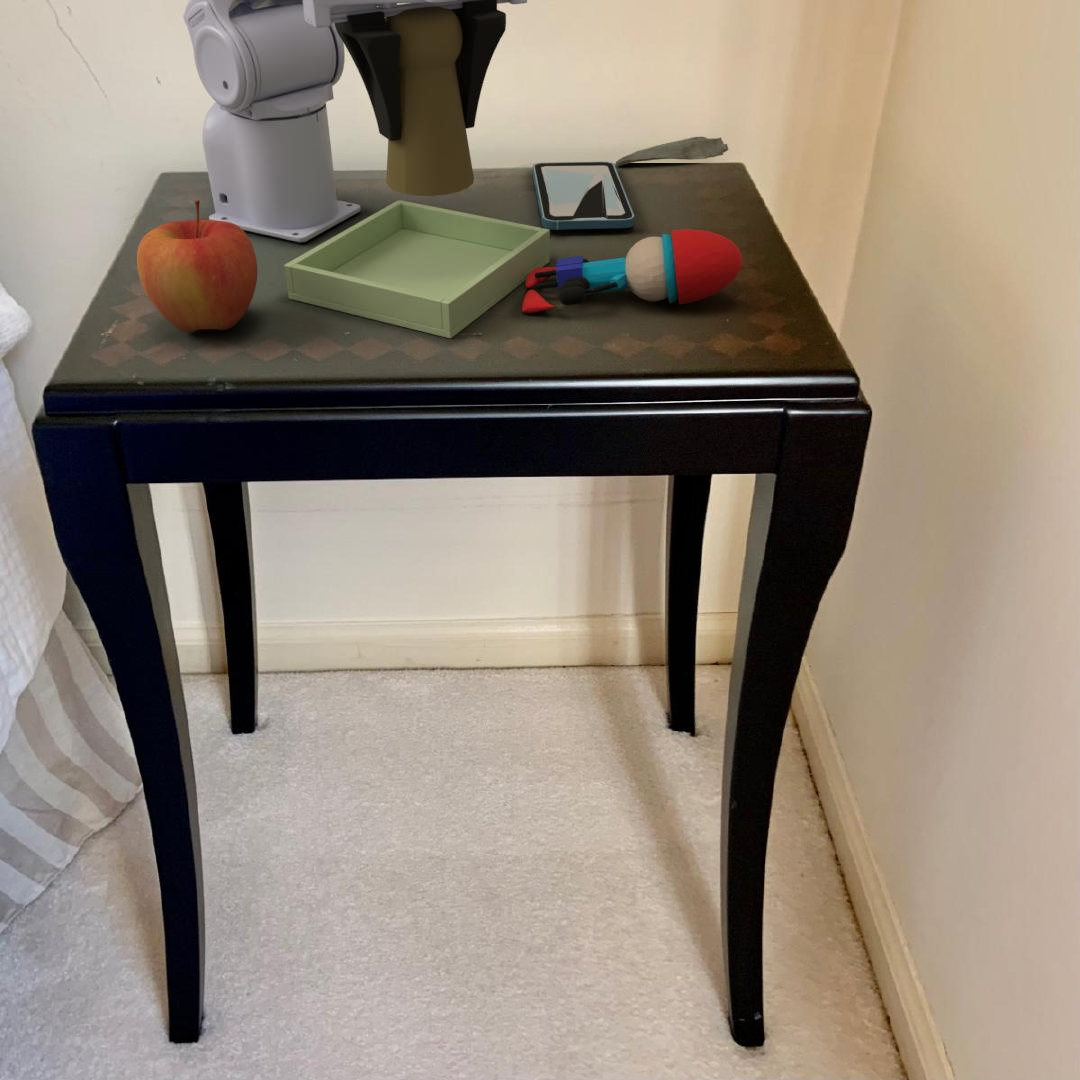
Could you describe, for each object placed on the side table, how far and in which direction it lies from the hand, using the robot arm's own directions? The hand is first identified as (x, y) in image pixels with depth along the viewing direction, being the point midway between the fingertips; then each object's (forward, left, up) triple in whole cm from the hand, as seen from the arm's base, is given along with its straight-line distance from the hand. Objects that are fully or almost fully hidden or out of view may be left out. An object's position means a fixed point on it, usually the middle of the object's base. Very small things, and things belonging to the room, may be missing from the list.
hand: (426, 130), depth 73 cm
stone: (+7, +30, -10) cm, 33 cm away
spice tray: (0, -1, -10) cm, 10 cm away
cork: (0, 0, -4) cm, 4 cm away
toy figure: (+14, +3, -10) cm, 18 cm away
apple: (-9, -14, -10) cm, 20 cm away
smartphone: (+3, +18, -10) cm, 21 cm away
